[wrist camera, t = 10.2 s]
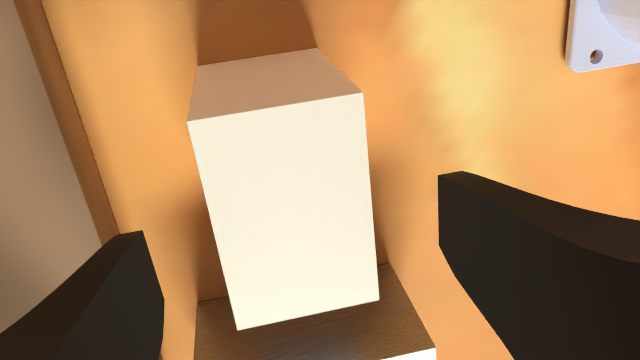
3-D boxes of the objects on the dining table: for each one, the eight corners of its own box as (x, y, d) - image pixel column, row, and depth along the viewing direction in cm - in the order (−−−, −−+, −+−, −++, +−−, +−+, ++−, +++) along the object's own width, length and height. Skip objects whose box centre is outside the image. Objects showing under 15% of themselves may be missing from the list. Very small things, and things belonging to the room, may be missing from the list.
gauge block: (317, 47, 17) (362, 92, 11) (335, 203, 19) (379, 300, 14) (197, 65, 16) (187, 121, 11) (232, 223, 19) (237, 330, 14)
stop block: (389, 263, 21) (435, 347, 16) (393, 318, 22) (437, 411, 18) (197, 302, 20) (190, 403, 16) (212, 358, 21) (210, 466, 17)
